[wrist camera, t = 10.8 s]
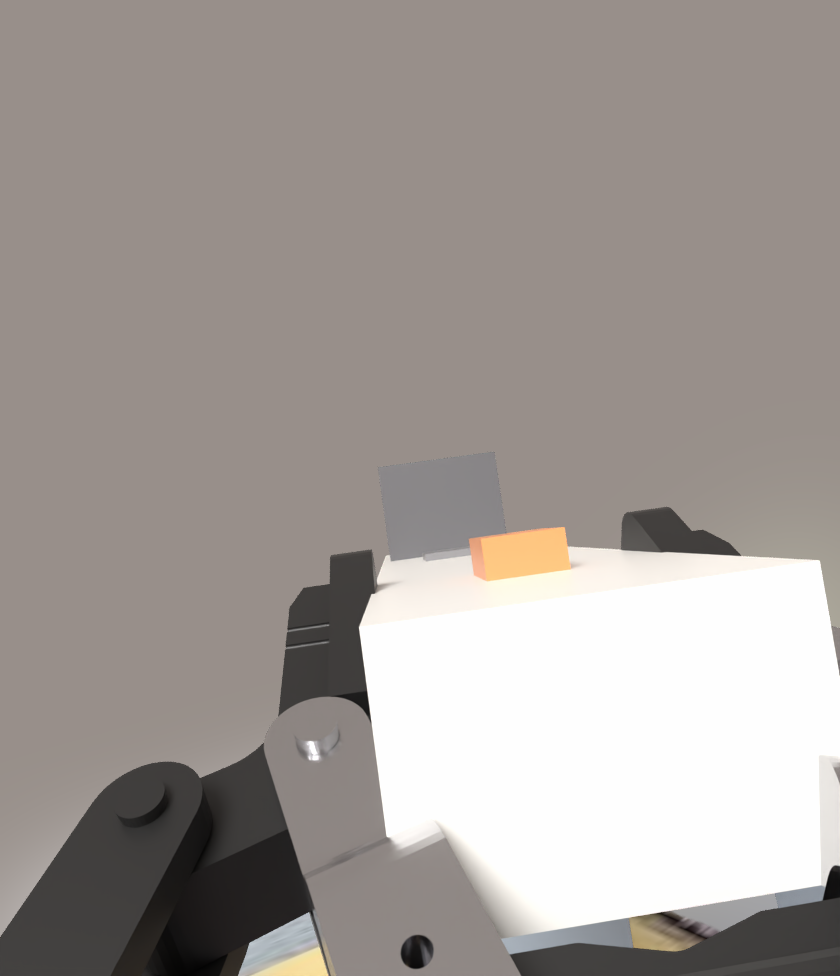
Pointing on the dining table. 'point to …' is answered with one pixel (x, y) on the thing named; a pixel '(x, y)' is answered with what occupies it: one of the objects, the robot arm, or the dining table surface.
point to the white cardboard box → (594, 709)
